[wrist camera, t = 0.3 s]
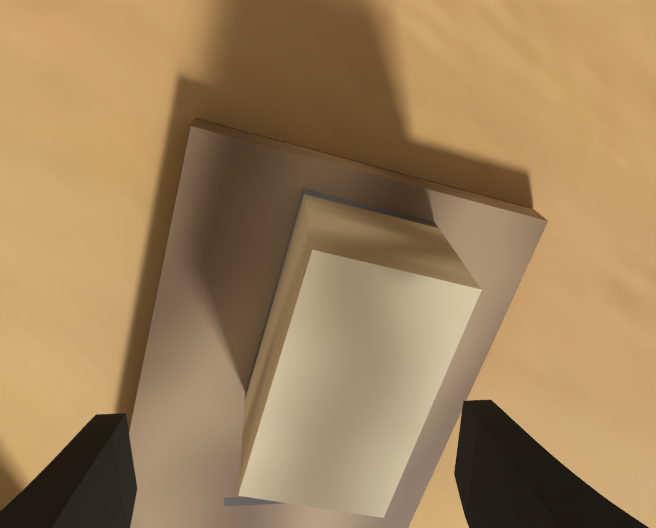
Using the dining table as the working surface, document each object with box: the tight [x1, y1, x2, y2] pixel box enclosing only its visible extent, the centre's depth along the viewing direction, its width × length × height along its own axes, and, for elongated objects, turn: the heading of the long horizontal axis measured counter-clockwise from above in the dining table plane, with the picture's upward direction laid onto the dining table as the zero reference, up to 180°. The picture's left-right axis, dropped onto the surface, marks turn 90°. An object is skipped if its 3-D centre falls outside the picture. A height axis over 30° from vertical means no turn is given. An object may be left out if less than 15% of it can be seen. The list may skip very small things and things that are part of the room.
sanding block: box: [238, 188, 482, 518], centre depth 19 cm, size 4×8×5 cm, turn 164°
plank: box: [129, 118, 548, 528], centre depth 24 cm, size 12×22×1 cm, turn 164°
